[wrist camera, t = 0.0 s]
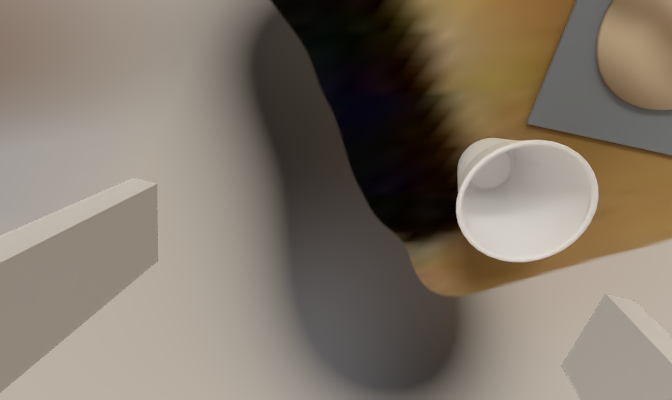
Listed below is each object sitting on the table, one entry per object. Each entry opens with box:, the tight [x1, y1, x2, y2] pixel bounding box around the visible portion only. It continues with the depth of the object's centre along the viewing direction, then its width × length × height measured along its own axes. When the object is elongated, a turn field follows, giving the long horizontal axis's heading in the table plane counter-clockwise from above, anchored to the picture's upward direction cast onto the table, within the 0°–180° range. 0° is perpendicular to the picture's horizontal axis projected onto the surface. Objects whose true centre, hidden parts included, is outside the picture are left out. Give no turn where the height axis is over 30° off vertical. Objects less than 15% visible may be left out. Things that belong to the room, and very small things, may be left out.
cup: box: [456, 138, 599, 262], centre depth 31 cm, size 10×10×11 cm
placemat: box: [526, 0, 672, 155], centre depth 30 cm, size 18×16×1 cm
